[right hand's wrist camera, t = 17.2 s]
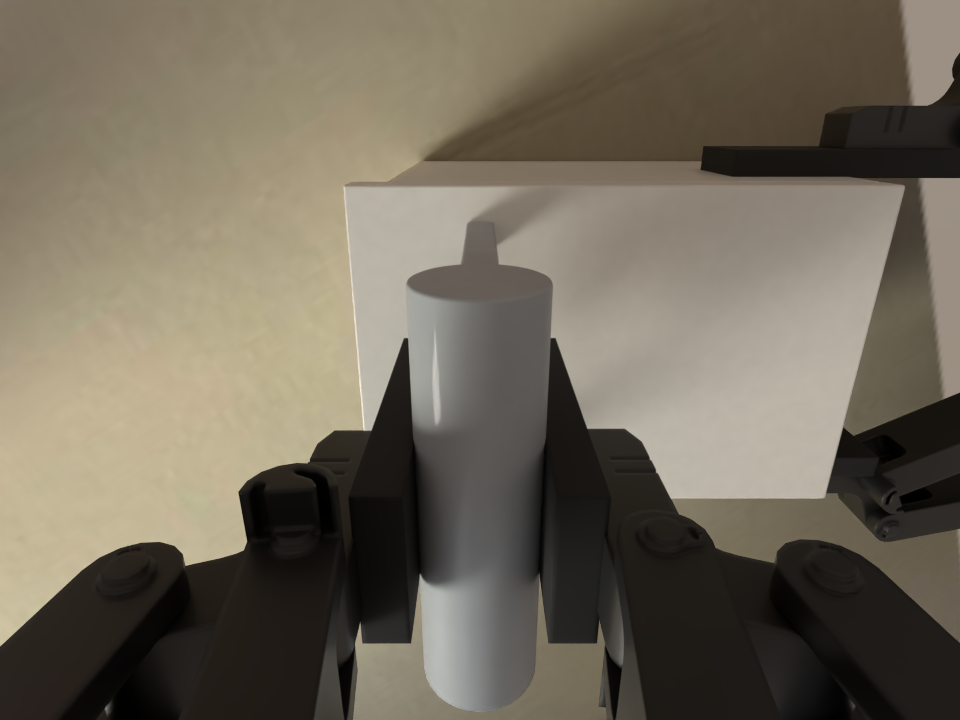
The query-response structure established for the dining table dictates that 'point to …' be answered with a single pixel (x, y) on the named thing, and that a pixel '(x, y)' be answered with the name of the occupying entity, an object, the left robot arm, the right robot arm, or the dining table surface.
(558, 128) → the dining table surface
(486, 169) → the chest
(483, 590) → the lid
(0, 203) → the dining table surface
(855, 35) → the dining table surface
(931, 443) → the left robot arm
